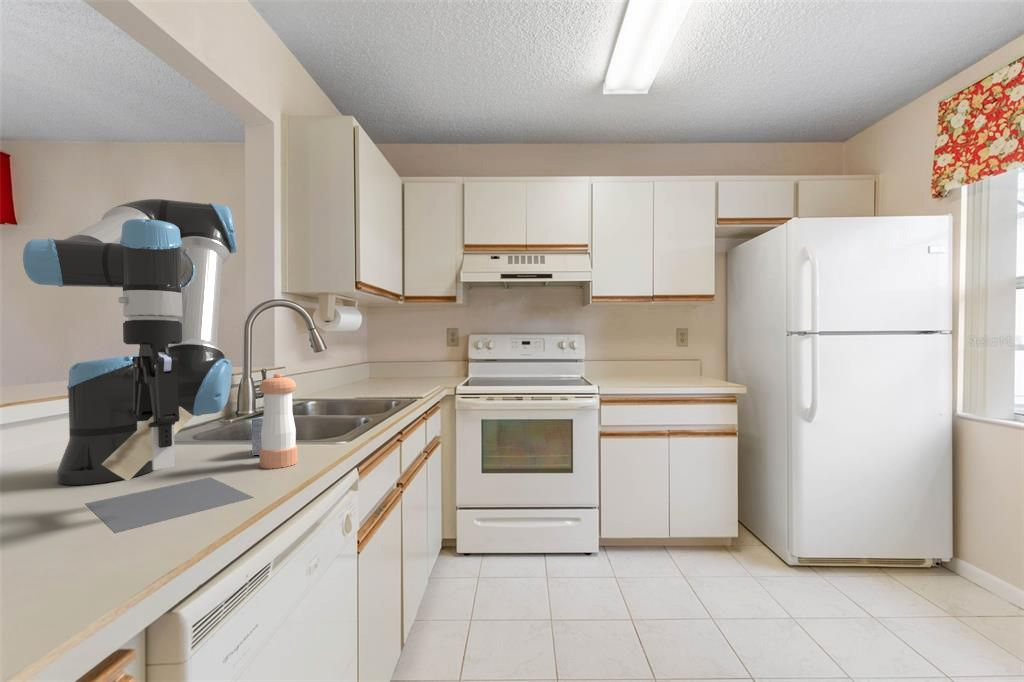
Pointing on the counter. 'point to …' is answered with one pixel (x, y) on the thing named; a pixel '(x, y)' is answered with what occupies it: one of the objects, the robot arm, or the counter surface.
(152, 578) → the counter surface
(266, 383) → the salt shaker
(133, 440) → the birch block
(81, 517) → the counter surface
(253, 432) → the medicine box
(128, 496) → the mat
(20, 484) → the counter surface
